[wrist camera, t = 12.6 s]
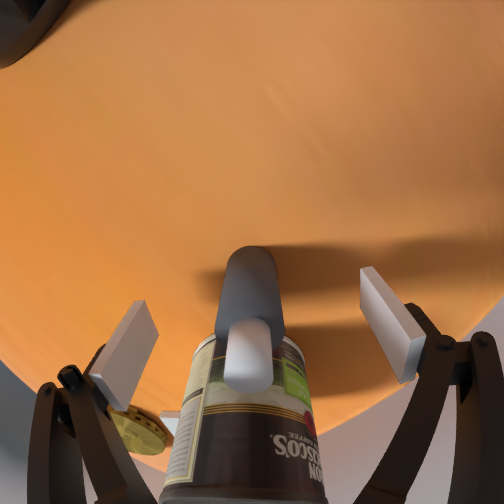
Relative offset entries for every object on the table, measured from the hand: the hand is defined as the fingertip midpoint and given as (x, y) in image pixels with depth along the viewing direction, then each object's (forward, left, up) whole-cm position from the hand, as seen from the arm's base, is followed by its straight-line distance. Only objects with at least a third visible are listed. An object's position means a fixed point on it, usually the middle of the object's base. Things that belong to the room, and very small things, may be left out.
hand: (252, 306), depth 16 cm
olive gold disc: (+20, -21, -5) cm, 30 cm away
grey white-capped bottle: (0, 0, -4) cm, 4 cm away
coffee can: (+9, -2, -4) cm, 11 cm away
